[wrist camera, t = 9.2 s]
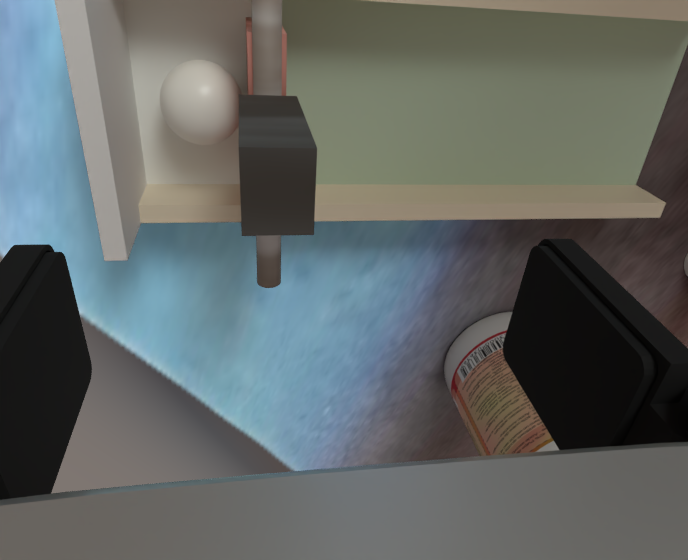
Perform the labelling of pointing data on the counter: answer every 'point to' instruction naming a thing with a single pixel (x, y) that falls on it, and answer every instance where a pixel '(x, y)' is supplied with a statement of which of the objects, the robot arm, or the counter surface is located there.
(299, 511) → the robot arm
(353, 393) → the counter surface
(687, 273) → the chalice
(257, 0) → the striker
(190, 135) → the ball
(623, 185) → the cream long tray
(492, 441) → the fruit juice
